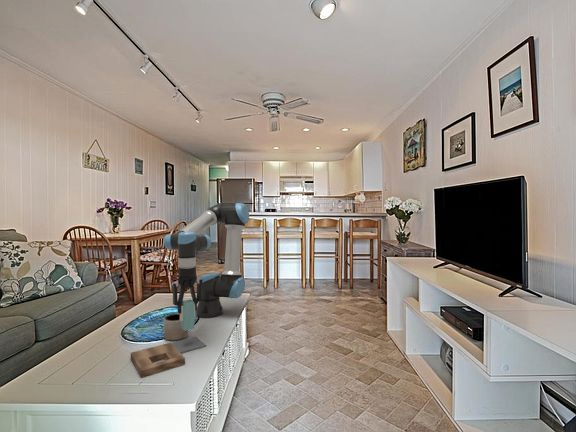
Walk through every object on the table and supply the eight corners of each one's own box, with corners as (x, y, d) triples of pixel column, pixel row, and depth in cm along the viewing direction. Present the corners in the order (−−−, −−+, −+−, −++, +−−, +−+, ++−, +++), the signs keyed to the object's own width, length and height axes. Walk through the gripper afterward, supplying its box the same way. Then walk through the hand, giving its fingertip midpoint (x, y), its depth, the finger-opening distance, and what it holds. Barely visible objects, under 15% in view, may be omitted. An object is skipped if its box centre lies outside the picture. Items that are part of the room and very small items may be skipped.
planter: (158, 338, 148) (158, 318, 148) (176, 330, 158) (176, 311, 158) (175, 343, 143) (175, 322, 143) (192, 334, 153) (192, 315, 153)
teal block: (190, 325, 144) (190, 299, 143) (194, 328, 140) (194, 301, 140) (180, 327, 141) (180, 301, 141) (184, 330, 137) (184, 303, 137)
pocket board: (170, 348, 138) (170, 342, 138) (184, 364, 124) (184, 358, 124) (130, 358, 129) (130, 352, 129) (141, 377, 114) (141, 370, 114)
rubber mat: (195, 337, 149) (195, 336, 149) (206, 346, 140) (206, 345, 140) (170, 344, 142) (170, 343, 142) (178, 354, 133) (178, 352, 133)
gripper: (202, 263, 148) (202, 312, 149) (164, 267, 138) (164, 320, 138) (209, 265, 142) (209, 317, 143) (169, 270, 132) (169, 325, 132)
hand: (187, 318), depth 141 cm, fingers closed on teal block, 4 cm apart
